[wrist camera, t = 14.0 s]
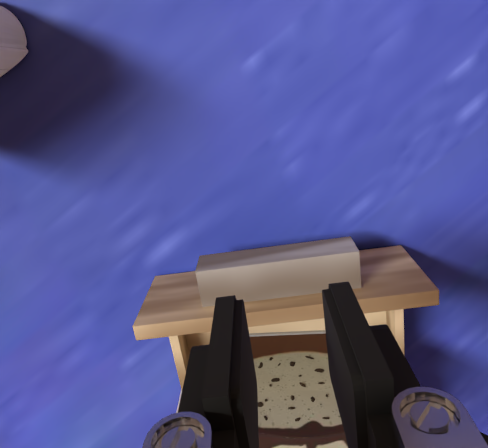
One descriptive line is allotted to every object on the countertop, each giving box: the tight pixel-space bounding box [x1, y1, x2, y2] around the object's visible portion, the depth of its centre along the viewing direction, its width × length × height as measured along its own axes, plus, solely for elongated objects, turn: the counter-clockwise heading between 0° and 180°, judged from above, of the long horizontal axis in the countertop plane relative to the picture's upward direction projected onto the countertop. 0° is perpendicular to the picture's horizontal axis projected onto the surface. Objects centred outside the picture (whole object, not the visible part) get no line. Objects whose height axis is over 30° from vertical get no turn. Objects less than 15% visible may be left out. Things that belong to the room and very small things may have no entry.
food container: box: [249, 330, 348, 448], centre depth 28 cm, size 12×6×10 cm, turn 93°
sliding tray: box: [133, 237, 439, 389], centre depth 30 cm, size 14×18×7 cm
